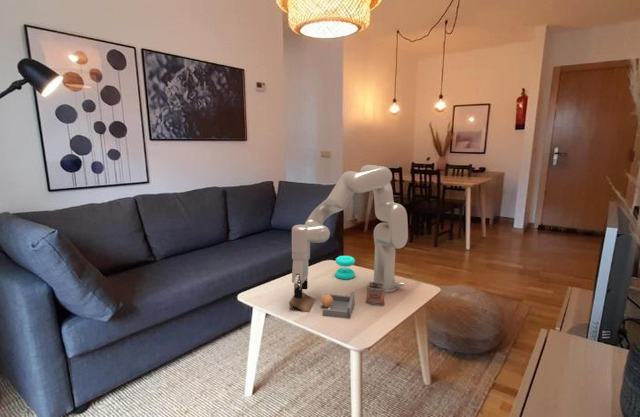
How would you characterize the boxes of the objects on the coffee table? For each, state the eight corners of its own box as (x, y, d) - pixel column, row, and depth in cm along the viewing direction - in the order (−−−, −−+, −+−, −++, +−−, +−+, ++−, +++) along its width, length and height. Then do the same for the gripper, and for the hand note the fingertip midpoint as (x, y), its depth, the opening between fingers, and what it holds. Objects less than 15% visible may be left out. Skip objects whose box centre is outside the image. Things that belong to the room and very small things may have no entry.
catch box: (354, 301, 154) (354, 292, 153) (350, 318, 139) (350, 308, 138) (329, 299, 156) (329, 290, 155) (322, 315, 141) (322, 305, 141)
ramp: (315, 301, 156) (315, 291, 155) (309, 314, 144) (309, 303, 143) (296, 299, 157) (296, 289, 157) (289, 312, 146) (289, 301, 145)
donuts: (337, 254, 187) (356, 255, 184) (337, 272, 189) (355, 273, 186) (334, 260, 177) (353, 262, 175) (333, 279, 179) (353, 281, 177)
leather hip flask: (365, 303, 152) (365, 281, 150) (366, 300, 155) (367, 279, 153) (383, 306, 149) (384, 284, 148) (385, 303, 153) (386, 281, 151)
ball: (332, 304, 151) (321, 301, 152) (335, 294, 150) (323, 291, 150) (330, 310, 146) (318, 306, 147) (332, 299, 145) (321, 296, 146)
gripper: (297, 247, 156) (297, 284, 159) (286, 260, 139) (286, 301, 142) (314, 249, 154) (314, 286, 157) (304, 262, 137) (304, 303, 141)
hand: (301, 293), depth 150 cm, fingers open, 8 cm apart
